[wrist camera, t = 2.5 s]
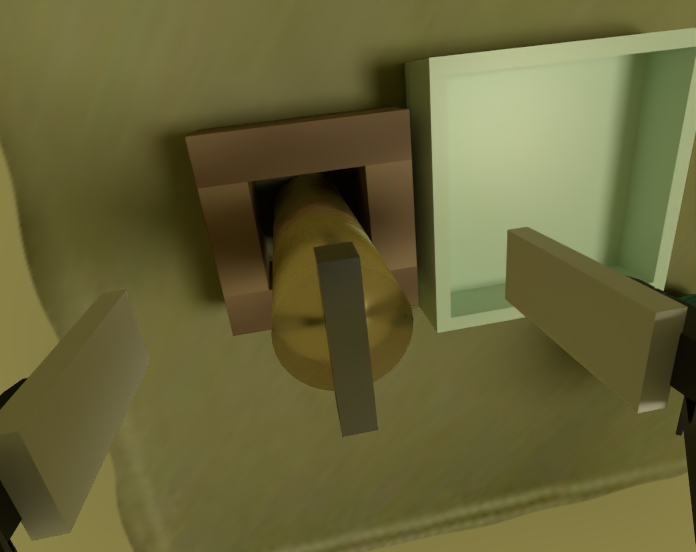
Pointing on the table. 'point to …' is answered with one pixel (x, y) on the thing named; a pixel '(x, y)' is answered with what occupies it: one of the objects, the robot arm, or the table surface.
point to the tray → (547, 161)
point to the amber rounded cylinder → (334, 300)
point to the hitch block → (295, 159)
